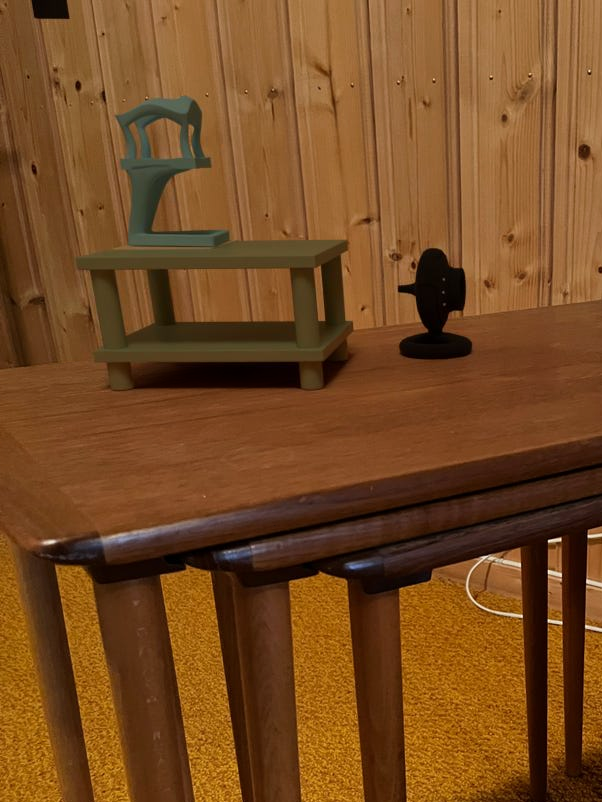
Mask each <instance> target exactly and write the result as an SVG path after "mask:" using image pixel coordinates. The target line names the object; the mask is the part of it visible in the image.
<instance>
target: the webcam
mask: <svg viewBox="0 0 602 802" xmlns="http://www.w3.org/2000/svg"><path fill="white" fill-rule="evenodd" d="M397 293H399V294H407V295H412V296H414V297H415V304H416V311H417V313H418V317H419V319H420V321H421V324H422V325H423V327H424V328H425V329H426V330H427V331H426V332H420V333H417V334H413V335H410V336H406V337H404V338H403V339H401V341H400V342H399V344H398V349H399V352H400V353H401V354H402V355H404V356H407V357H409V358H414V359H415V358H417V359H432V360H433V359H450V358H457V357H463V356H467V355H469V353H471V352H472V350H473V341H472V340H471V339H470V338H468V337H466V336H464V335H460V334H458V333H457V334H456V333H452V332H448V331H447V332H446V331H443V330H444V328H445V326H446V323H447V322H448V319H449V317H450V313H452V312H463V311H464V309H465V307H466V300H467V280H466V272H465V269H464V268H463V267H453V266H451V265H450V263H449V260H448V256H447V254H446V253H445V252H444V251H443V249H441V248H437V247H429V248H426V249H425V250H424V251H422V252H421V255H420V257H419V259H418V263H417V267H416V270H415V280H414V282H413V283H409V284H400V285H399V284H398V285H397Z"/></svg>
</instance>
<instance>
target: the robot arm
mask: <svg viewBox="0 0 602 802" xmlns="http://www.w3.org/2000/svg"><path fill="white" fill-rule="evenodd" d="M30 2H31V8H32V14H33V18H34V19H37V20H70V19H71V18H70V12H69V6H68V0H30Z"/></svg>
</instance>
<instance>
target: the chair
mask: <svg viewBox="0 0 602 802" xmlns="http://www.w3.org/2000/svg"><path fill="white" fill-rule="evenodd" d="M114 117H115V119H116V121H117V123H118V125H119V127H120V129H121V131H122V134H123V137H124V139H125V144H126V152H125V153H126V154H125V158H119V164H120V169H121V171H125V172H126V173H127V175H128V176H129V179H130V185H131V190H130V191H131V193H130V211H129V222H128V231H127V242H128V243H127V245H131V246H204V247H216V246H218V245H220V244H223V243H225V242H227V241H229V240H231V236H230V230H229V229H199V230H197V229H196V230H193V229H192V230H167V231H165V230H164V231H153V225H154V221H155V219H156V218H155V217H156V214H157V210H158V209H159V208H158V207H159V204H160V201H161V198H162V195H163V193H164V190H165V189H166V186H167V184H168V183H169V181H170V180H171V179H173V178H174V177H175V176H177V175H179V174H182V173H186V172H189V171H191V170H197V169H198V170H199V169H212V160H211V159H212V158H211V157H210V156H209V157H207V156H205V153H204V151H203V148H202V143H201V134H202V125H203V123H202V122H203V112H202V109H201V107H200V105H199V104H198V101H196V100H195V99H194V98H192V97H191V96H189V95H186V94H183V95H181V96H179V97H177V98H176V99H175V98H165V97H164V98H163V97H155V98H150V99H148V100H147V99H146V100H145V101H143V102H141V103H140V104H138V105H137V106H135V107H134V108H132V109H130V110H128V111H125V112H123V113H120V114H119V113H118V114H114ZM161 119H167V120H169V121H172V122H174V123H175V124H177V125H179V126H180V130H179V131H180V132H179V148H180V152H181V156H182V157H176V158H175V157H174V158H159V157H152V150H151V144H150V140H149V136H148V134H147V131H146V127H148V126H149V125H151V124H153V123H154V122H157V121H159V120H161ZM133 123H134V125H135V127H136V130H137V133H138V137H139V142H140V157H139V158H137V155H138V147H137V142H136V140H135V137H134V135H133V132H132V131H131V129H130V125H132V124H133ZM190 126H192V127H193V132H192V135H191V145H190V136H189V133H190V132H189V129H190V128H189V127H190ZM191 148H192V150H191ZM192 152H193V153H192Z"/></svg>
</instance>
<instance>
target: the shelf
mask: <svg viewBox="0 0 602 802" xmlns="http://www.w3.org/2000/svg"><path fill="white" fill-rule="evenodd" d="M348 251H349V243H348V239H282V240H281V239H276V240H275V239H273V240H272V239H267V240H266V239H265V240H262V239H261V240H259V239H258V240H256V239H255V240H239V239H230V240H229V241H227V242H225V243H223V244H220V245H218V246H216V247H204V246H131V245H128V244H127V245H123V246H118V247H114V248H110V249H106V250H102V251H98V252H97V251H96V252H93V253H89V254H88V253H87V254H84V255H80V256H76V257H75V258H74V259H75V264H76V269H77V271H89V276H90V281H91V286H92V292H93V297H94V303H95V309H96V313H97V319H98V325H99V330H100V336H101V341H102V346H100V347H97V348H95V349H94V350H92V357H93V362H94V363H102V364H103V363H105V364H106V370H107V375H108V381H109V385H110V390H112V391H128V390H132V389H134V388H135V381H134V375H133V370H132V369H133V368H132V363H282V362H283V363H288V362H290V363H293V362H294V363H295V362H297V363H298V370H299V371H298V372H299V381H300V383H299V384H300V388H301V390H307V391H312V390H313V391H314V390H321V389H323V388H324V387H325V386H324V385H325V384H324V371H323V362H325V361H326V359H327V360H328V361H330V362H345V361H348V360H349V349H348V337H349V336H350V335H351V334H352V333H353V332H354V330H355V329H354V321H353V320H346V306H345V305H346V304H345V292H344V291H345V290H344V280H343V264H342V254H344V253H346V252H348ZM319 267H320V276H321V286H322V287H321V289H322V300H323V313H324V320H319V311H318V300H317V288H316V287H317V285H316V275H315V269H317V268H319ZM253 269H255V270H257V269H258V270H259V269H260V270H261V269H289V277H290V288H291V296H292V297H291V298H292V306H293V307H292V309H293V317H294V320H267V321H266V320H263V321H262V320H261V321H259V320H257V321H256V320H255V321H253V320H249V321H247V320H245V321H241V320H240V321H176V315H175V308H174V301H173V293H172V287H171V281H170V280H171V279H170V274H169V270H253ZM139 270H141V271H142V270H144V271H146V275H147V276H146V277H147V282H148V283H147V284H148V289H149V295H150V301H151V308H152V315H153V321H154V322H153V323H151V324H149V325H147V326H145V327H142V328H140V329H138V330H135V331H133V332H130V333H129V334H126V328H125V323H124V317H123V310H122V305H121V298H120V293H119V287H118V281H117V275H116V271H139Z"/></svg>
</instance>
